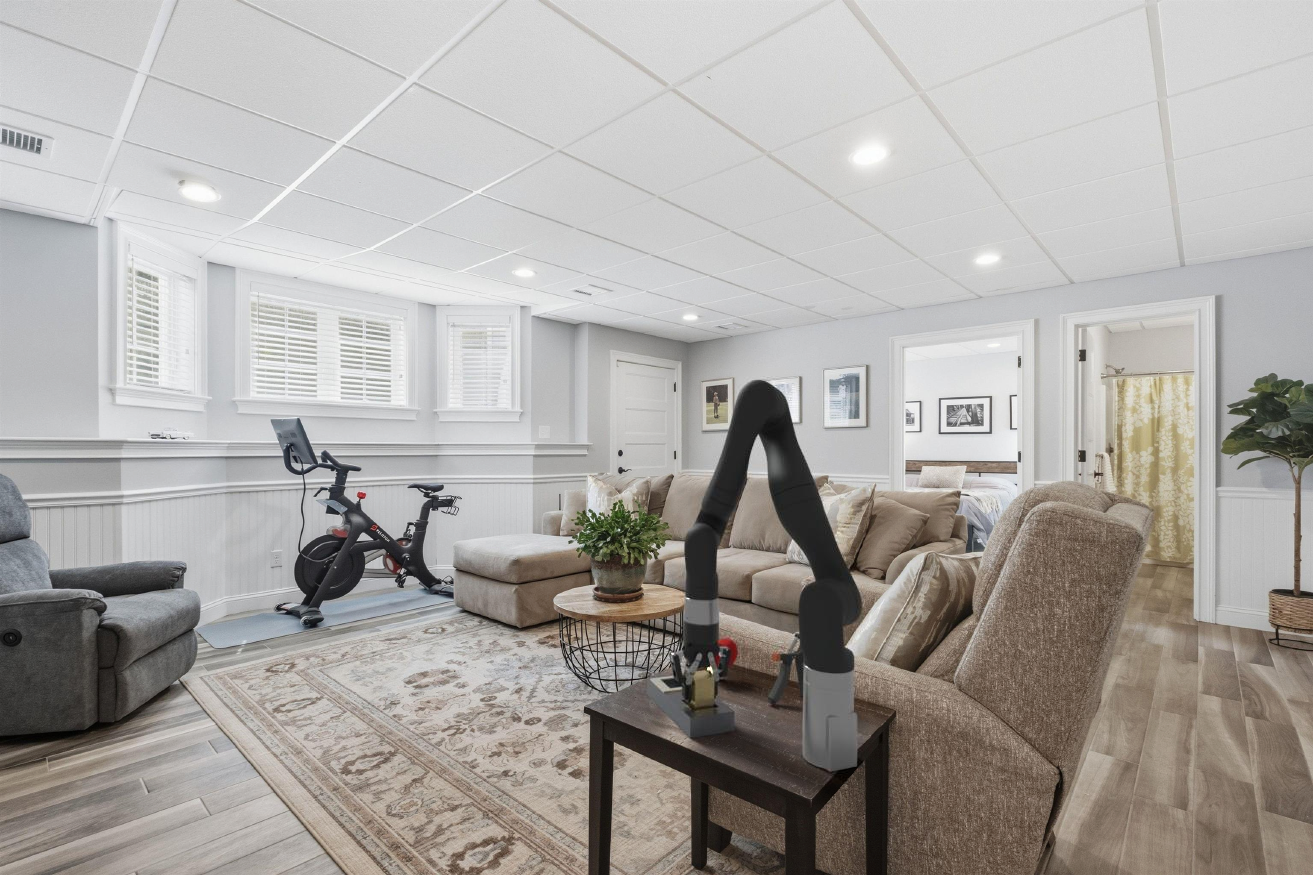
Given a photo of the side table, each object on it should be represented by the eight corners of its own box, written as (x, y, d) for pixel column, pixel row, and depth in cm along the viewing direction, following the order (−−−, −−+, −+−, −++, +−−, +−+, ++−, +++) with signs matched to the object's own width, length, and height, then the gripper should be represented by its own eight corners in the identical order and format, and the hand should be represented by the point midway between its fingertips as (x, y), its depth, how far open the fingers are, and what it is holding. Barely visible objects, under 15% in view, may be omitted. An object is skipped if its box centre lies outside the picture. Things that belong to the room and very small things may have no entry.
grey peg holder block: (734, 730, 126) (734, 709, 126) (690, 738, 123) (690, 716, 123) (685, 689, 149) (685, 671, 149) (646, 694, 145) (647, 675, 145)
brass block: (713, 725, 129) (714, 676, 129) (694, 728, 127) (695, 679, 127) (704, 717, 133) (705, 670, 133) (685, 719, 131) (686, 672, 132)
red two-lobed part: (712, 687, 150) (713, 646, 150) (697, 678, 156) (698, 638, 157) (743, 681, 155) (744, 641, 155) (727, 672, 161) (728, 634, 161)
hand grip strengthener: (765, 704, 141) (766, 637, 141) (804, 693, 147) (805, 630, 148) (772, 707, 139) (773, 640, 139) (811, 697, 145) (812, 632, 146)
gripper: (677, 625, 125) (675, 710, 124) (739, 620, 130) (738, 701, 129) (663, 616, 132) (661, 697, 131) (723, 611, 137) (721, 688, 136)
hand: (699, 698), depth 130 cm, fingers open, 5 cm apart
